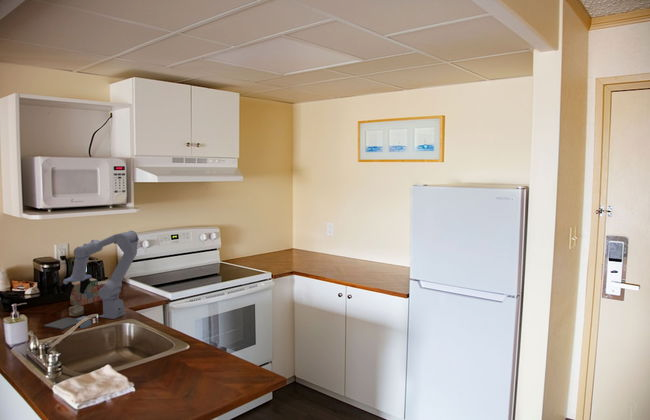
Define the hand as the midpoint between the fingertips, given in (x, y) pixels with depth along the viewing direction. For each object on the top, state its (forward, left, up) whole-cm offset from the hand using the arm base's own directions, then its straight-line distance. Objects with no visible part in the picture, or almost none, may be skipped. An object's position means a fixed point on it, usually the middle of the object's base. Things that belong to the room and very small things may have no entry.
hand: (74, 294), depth 232 cm
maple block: (-1, +1, -10) cm, 10 cm away
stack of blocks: (+11, -20, -10) cm, 25 cm away
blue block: (-19, +12, -10) cm, 24 cm away
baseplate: (-8, +13, -10) cm, 18 cm away
